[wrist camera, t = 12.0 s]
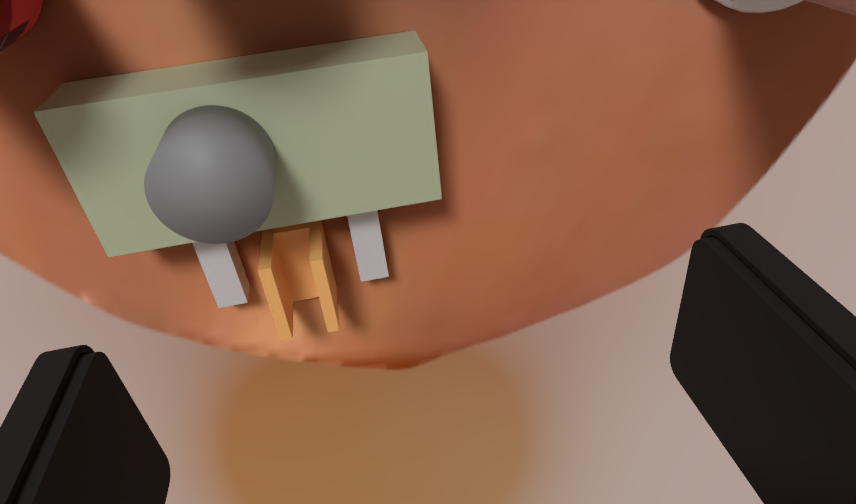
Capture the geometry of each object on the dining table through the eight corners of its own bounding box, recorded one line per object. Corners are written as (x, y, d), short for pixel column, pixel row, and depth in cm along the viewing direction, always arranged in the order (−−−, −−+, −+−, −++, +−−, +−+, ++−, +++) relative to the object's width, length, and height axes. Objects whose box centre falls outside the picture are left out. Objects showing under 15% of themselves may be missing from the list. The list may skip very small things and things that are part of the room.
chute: (320, 218, 40) (322, 259, 36) (336, 285, 44) (339, 330, 40) (262, 227, 40) (257, 270, 36) (283, 295, 44) (280, 340, 39)
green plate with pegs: (414, 30, 34) (441, 75, 27) (438, 250, 44) (463, 325, 37) (62, 83, 33) (-2, 145, 26) (165, 300, 42) (138, 388, 35)
